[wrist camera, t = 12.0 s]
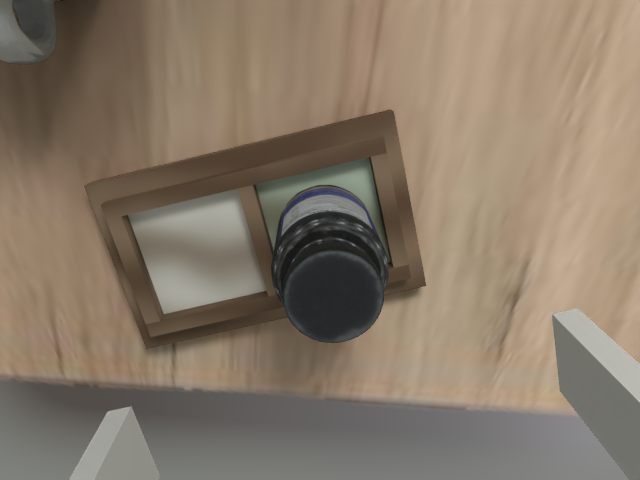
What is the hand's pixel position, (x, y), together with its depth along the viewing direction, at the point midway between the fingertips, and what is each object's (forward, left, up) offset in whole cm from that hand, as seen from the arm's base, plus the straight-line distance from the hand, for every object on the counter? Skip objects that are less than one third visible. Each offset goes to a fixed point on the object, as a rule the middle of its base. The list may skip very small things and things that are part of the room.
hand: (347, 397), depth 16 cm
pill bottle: (0, 0, -20) cm, 20 cm away
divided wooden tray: (0, -4, -21) cm, 21 cm away
